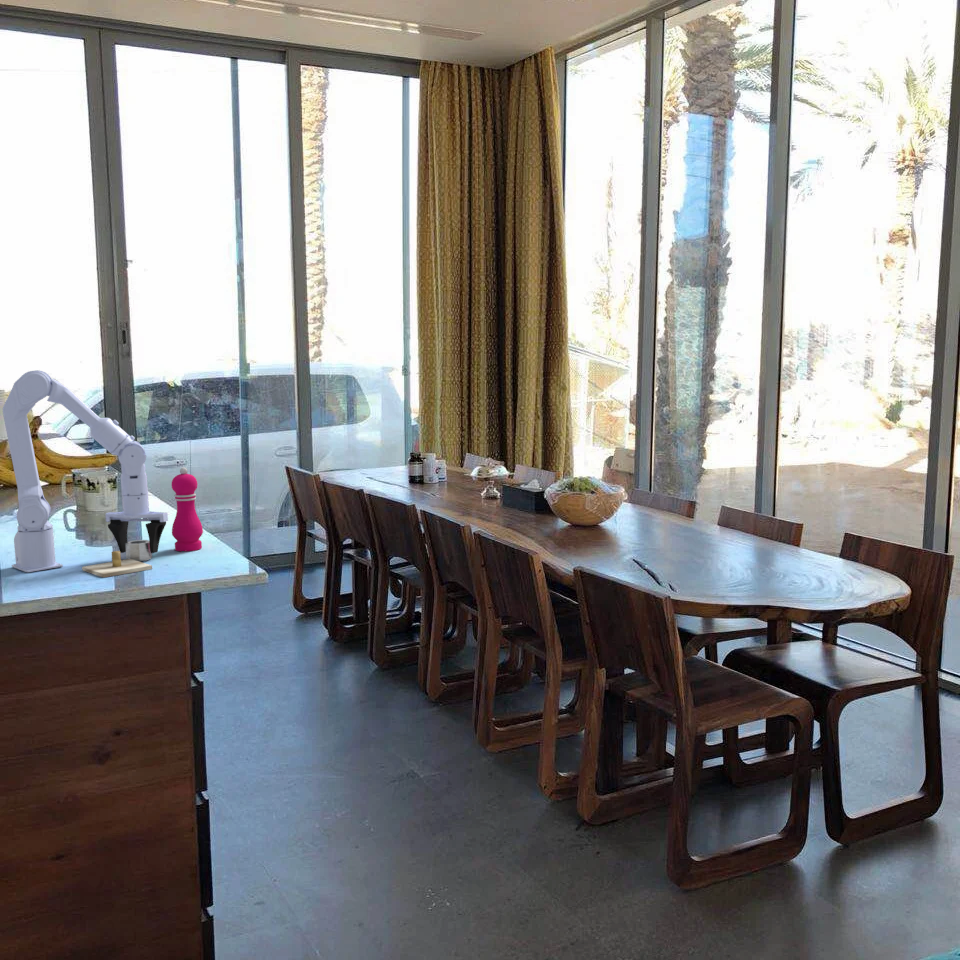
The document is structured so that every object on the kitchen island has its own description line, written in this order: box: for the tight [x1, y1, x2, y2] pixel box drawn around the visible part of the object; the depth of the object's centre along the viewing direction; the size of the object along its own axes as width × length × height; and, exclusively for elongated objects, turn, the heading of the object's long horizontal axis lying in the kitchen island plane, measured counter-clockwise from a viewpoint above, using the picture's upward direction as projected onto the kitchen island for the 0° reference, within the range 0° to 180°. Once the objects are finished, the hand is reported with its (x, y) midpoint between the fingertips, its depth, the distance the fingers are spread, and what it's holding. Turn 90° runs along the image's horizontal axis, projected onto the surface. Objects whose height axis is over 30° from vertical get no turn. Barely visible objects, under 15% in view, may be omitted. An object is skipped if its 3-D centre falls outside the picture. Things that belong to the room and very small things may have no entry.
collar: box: [125, 539, 153, 562], centre depth 229 cm, size 5×5×4 cm
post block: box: [81, 550, 153, 578], centre depth 218 cm, size 11×11×4 cm
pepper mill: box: [171, 466, 204, 552], centre depth 238 cm, size 7×7×20 cm
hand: (139, 552), depth 229 cm, fingers open, 7 cm apart
